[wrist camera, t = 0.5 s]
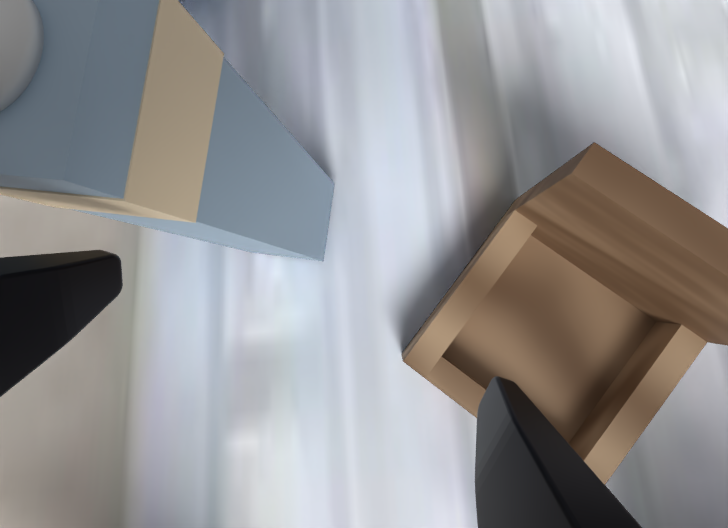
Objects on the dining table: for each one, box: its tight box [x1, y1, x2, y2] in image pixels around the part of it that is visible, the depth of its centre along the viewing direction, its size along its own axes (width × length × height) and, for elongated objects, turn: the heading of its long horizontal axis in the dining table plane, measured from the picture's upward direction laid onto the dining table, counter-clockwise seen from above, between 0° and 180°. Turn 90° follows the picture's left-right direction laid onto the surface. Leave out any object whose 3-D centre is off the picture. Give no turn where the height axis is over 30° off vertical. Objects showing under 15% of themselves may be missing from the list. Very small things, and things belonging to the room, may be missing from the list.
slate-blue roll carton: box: [0, 0, 334, 261], centre depth 15 cm, size 5×5×16 cm
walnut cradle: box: [402, 142, 728, 485], centre depth 17 cm, size 12×12×9 cm
